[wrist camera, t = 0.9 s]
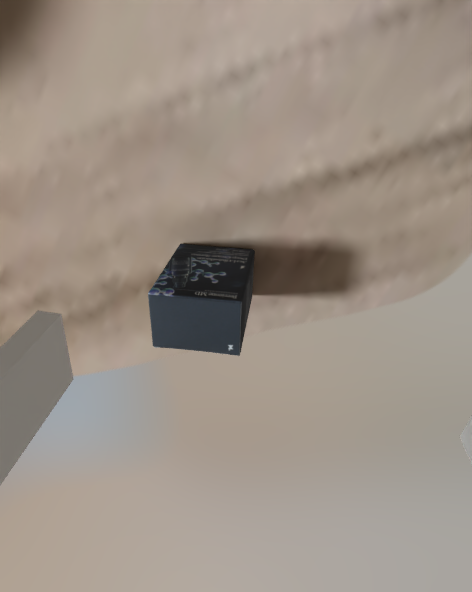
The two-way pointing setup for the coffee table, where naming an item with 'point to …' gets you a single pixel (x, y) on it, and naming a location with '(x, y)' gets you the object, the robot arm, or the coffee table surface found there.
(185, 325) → the box
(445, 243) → the coffee table surface
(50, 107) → the coffee table surface
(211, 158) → the coffee table surface
